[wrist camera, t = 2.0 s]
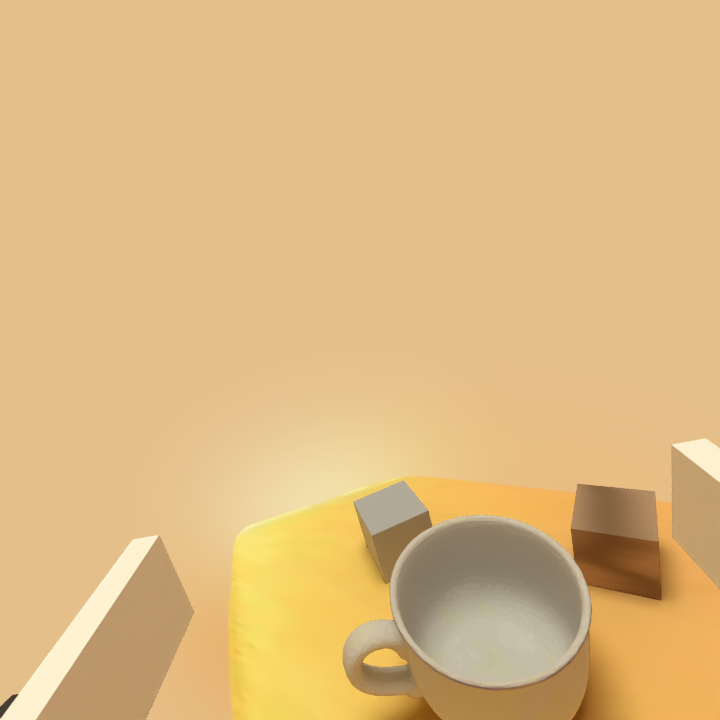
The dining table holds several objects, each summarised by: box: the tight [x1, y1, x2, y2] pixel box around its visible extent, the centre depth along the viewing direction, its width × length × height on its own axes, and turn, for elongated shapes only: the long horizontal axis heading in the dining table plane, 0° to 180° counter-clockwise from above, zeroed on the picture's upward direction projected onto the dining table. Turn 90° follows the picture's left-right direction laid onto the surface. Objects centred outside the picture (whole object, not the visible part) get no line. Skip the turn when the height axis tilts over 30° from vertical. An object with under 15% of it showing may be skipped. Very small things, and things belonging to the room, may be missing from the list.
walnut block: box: [571, 484, 661, 600], centre depth 32 cm, size 5×5×5 cm
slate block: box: [354, 481, 432, 583], centre depth 38 cm, size 5×5×5 cm
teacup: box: [343, 515, 592, 720], centre depth 26 cm, size 14×11×8 cm
